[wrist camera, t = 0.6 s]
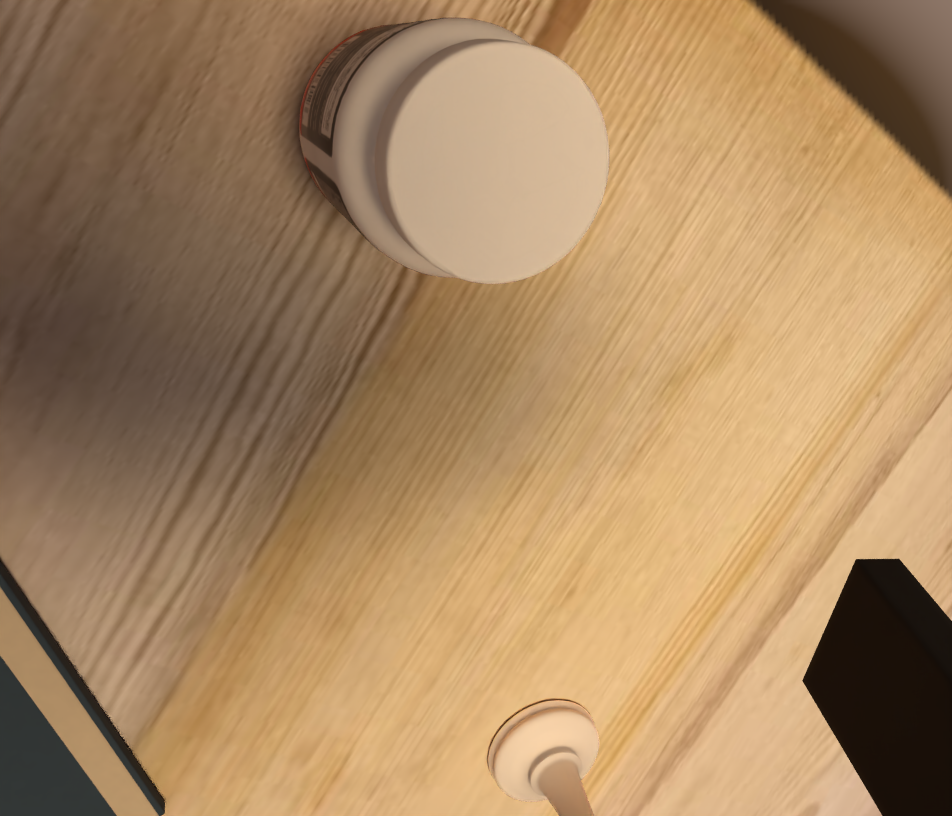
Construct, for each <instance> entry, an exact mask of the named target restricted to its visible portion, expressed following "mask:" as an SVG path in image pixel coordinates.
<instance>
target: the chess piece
mask: <svg viewBox="0 0 952 816" xmlns="http://www.w3.org/2000/svg"><path fill="white" fill-rule="evenodd" d="M598 750H599V735H598V732H597V729H596V727H595V725H594V721H593V719H592V717H591V715H590V714H589V713H588V711H587V710H586V709H584V708H583V707H582V706H580V705H578V704H576V703H573V702H570V701H564V700H552V701H545V702H541V703H538V704H535V705H532V706H530V707H528V708H526V709H524V710H522V711H521V712H519V713H517V714H516V715H515V716H513V717H512V718H511V719H510V720H509V721H507V722H506V723H505V724H504V726H503V727H502V728H501V729H500V730H499V732H498V733H497V735H496V736H495V738H494V740H493V742H492V744H491V747H490V750H489V755H488V766H489V770H490V773H491V775H492V777H493V779H494V780H495V781H496V782H497V784H498V786H499V788H500V789H501V790H502V791H503V792H504V793H505V794H506V795H508V796H510V797H511V798H514V799H516V800H520V801H526V802H536V801H543V800H547V799H548V800H549V801H550V803H551V804H552V806H553V807H554V809H555V810H556V812H557V813H558V814H559V816H594V814H593V812H592V809H591V806H590V804H589V801H588V799H587V796H586V793H585V790H584V788H583V785H582V782H581V780H582V779H583V778H584V777H585V775H586V774H587V773H588V772H589V770H590V769H591V767H592V766H593V764H594V762H595V759H596V757H597V754H598Z"/></svg>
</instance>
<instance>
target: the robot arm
mask: <svg viewBox="0 0 952 816" xmlns="http://www.w3.org/2000/svg"><path fill="white" fill-rule="evenodd" d="M802 681H803V683H804V684H805V686H806V688H807V689H808V691H809V693H810V694H811V696H812V698H813V699H814V701H815V703H816V704H817V706H818V708H819V709H820V711H821V713H822V715H823V716H824V718H825V720H826V721H827V723H828V725H829V726H830V728H831V730H832V731H833V733H834V735H835V736H836V738H837V740H838V741H839V743H840V745H841V747H842V748H843V750H844V752H845V753H846V755H847V757H848V758H849V760H850V762H851V763H852V765H853V767H854V768H855V770H856V772H857V773H858V775H859V777H860V779H861V780H862V782H863V784H864V785H865V787H866V789H867V790H868V792H869V794H870V795H871V797H872V799H873V800H874V802H875V804H876V805H877V807H878V809H879V811H880V812H881V814H882V816H952V621H951V620H950V619H949V617H948V616H947V615H946V614H945V613H944V612H943V610H942V609H941V608H940V607H939V606H938V604H937V603H936V602H935V601H934V600H933V598H932V597H931V596H930V595H929V594H928V593H927V591H926V590H925V589H924V588H923V587H922V585H921V584H920V583H919V582H918V581H917V579H916V578H915V577H914V576H913V575H912V574H911V572H910V571H909V570H908V569H907V568H906V566H905V565H904V564H903V563H902V562H901V560H900V559H856V560H855V563H854V565H853V567H852V570H851V572H850V574H849V576H848V579H847V581H846V583H845V585H844V588H843V590H842V592H841V594H840V597H839V599H838V601H837V603H836V606H835V608H834V610H833V613H832V615H831V617H830V619H829V622H828V624H827V626H826V628H825V631H824V633H823V635H822V637H821V640H820V642H819V644H818V647H817V649H816V651H815V653H814V656H813V658H812V660H811V662H810V665H809V667H808V669H807V671H806V674H805V676H804V678H803V680H802Z"/></svg>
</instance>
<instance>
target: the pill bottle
mask: <svg viewBox="0 0 952 816" xmlns="http://www.w3.org/2000/svg"><path fill="white" fill-rule="evenodd" d="M299 134H300V142H301V148H302V152H303V156H304V159H305V162H306V165H307V167H308V170H309V172H310V174H311V176H312V178H313V180H314V182H315V184H316V185H317V187H318V188H319V190H320V191H321V192H322V194H323V195H324V196H325V197H326V198H327V200H328V201H329V202H330V203H331V204H332V205H333V206H334V207H335V208H336V209H337V210H338V211H339V212H340V213H341V214H342V215H343V216H344V217H345V218H346V219H347V220H348V221H350V223H351V224H352V225H353V226H354V227H355V228H356V229H357V230H358V231H359V232H360V233H361V234H362V235H363V236H364V237H365V238H366V239H367V240H368V241H369V242H370V243H371V244H372V245H373V246H374V247H376V248H377V249H378V250H380V251H381V252H382V253H384V254H385V255H386V256H388V257H389V258H391V259H393V260H394V261H396V262H397V263H399V264H401V265H403V266H405V267H407V268H409V269H412V270H415V271H417V272H420V273H424V274H427V275H432V276H438V277H449V278H459V279H462V280H466V281H469V282H475V283H483V284H502V283H509V282H516V281H519V280H523V279H526V278H529V277H531V276H534V275H536V274H539V273H541V272H543V271H544V270H546V269H548V268H550V267H551V266H553V265H554V264H555V263H557V262H558V261H559V260H561V259H562V258H563V257H565V256H566V255H567V254H568V253H569V252H570V251H571V250H572V249H573V248H574V247H575V246H576V245H577V243H578V242H579V241H580V240H581V239H582V237H583V236H584V234H585V233H586V232H587V230H588V229H589V227H590V225H591V224H592V222H593V220H594V218H595V216H596V214H597V212H598V209H599V207H600V205H601V203H602V199H603V196H604V192H605V188H606V184H607V180H608V172H609V143H608V135H607V130H606V126H605V122H604V118H603V115H602V112H601V110H600V108H599V105H598V103H597V101H596V99H595V97H594V96H593V94H592V92H591V91H590V89H589V87H588V86H587V85H586V84H585V82H584V81H583V80H582V79H581V77H580V76H579V75H578V74H577V73H576V72H575V71H574V70H573V69H572V68H571V67H570V66H569V65H567V64H566V63H565V62H564V61H562V60H561V59H560V58H558V57H557V56H555V55H553V54H551V53H549V52H548V51H546V50H544V49H541V48H539V47H536V46H533V45H530V44H529V43H527V42H526V41H525V40H523V39H522V38H521V37H519V36H517V35H516V34H514V33H512V32H510V31H509V30H507V29H505V28H503V27H500V26H498V25H495V24H492V23H488V22H484V21H480V20H475V19H467V18H440V19H431V20H425V21H418V22H411V23H402V24H394V25H383V26H378V27H374V28H370V29H367V30H363V31H360V32H358V33H356V34H354V35H352V36H350V37H349V38H347V39H346V40H344V41H342V42H341V43H340V44H338V45H337V46H336V47H334V48H333V49H332V50H331V51H330V52H329V53H328V54H327V55H326V56H325V58H324V59H323V60H322V61H321V62H320V64H319V65H318V66H317V68H316V69H315V71H314V72H313V74H312V76H311V78H310V80H309V82H308V85H307V87H306V90H305V92H304V96H303V99H302V104H301V110H300V121H299Z"/></svg>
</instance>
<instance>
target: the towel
mask: <svg viewBox="0 0 952 816" xmlns="http://www.w3.org/2000/svg"><path fill="white" fill-rule="evenodd" d="M164 813H165V802H164V800H163V799H162V798H161V796H160V795H159V793H158V792H157V790H156V789H155V787H154V786H153V784H152V783H151V781H150V780H149V778H148V777H147V776H146V774H145V773H144V771H143V770H142V768H141V767H140V765H139V764H138V762H137V761H136V759H135V758H134V756H133V755H132V753H131V752H130V751H129V749H128V748H127V746H126V745H125V743H124V742H123V740H122V739H121V737H120V736H119V734H118V733H117V731H116V730H115V728H114V727H113V726H112V724H111V723H110V721H109V720H108V718H107V717H106V715H105V714H104V712H103V711H102V709H101V708H100V706H99V705H98V704H97V702H96V701H95V699H94V698H93V696H92V695H91V693H90V692H89V690H88V689H87V687H86V686H85V684H84V683H83V681H82V680H81V679H80V677H79V676H78V674H77V673H76V671H75V670H74V668H73V667H72V665H71V664H70V662H69V661H68V659H67V658H66V656H65V655H64V654H63V652H62V651H61V649H60V648H59V646H58V645H57V643H56V642H55V640H54V639H53V637H52V636H51V634H50V633H49V632H48V630H47V629H46V627H45V626H44V624H43V623H42V621H41V620H40V618H39V617H38V615H37V614H36V612H35V611H34V609H33V608H32V607H31V605H30V604H29V602H28V601H27V599H26V598H25V596H24V595H23V593H22V592H21V590H20V589H19V587H18V586H17V584H16V583H15V582H14V580H13V579H12V577H11V576H10V574H9V573H8V571H7V570H6V568H5V567H4V565H3V564H2V562H1V561H0V816H161V815H163V814H164Z"/></svg>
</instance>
